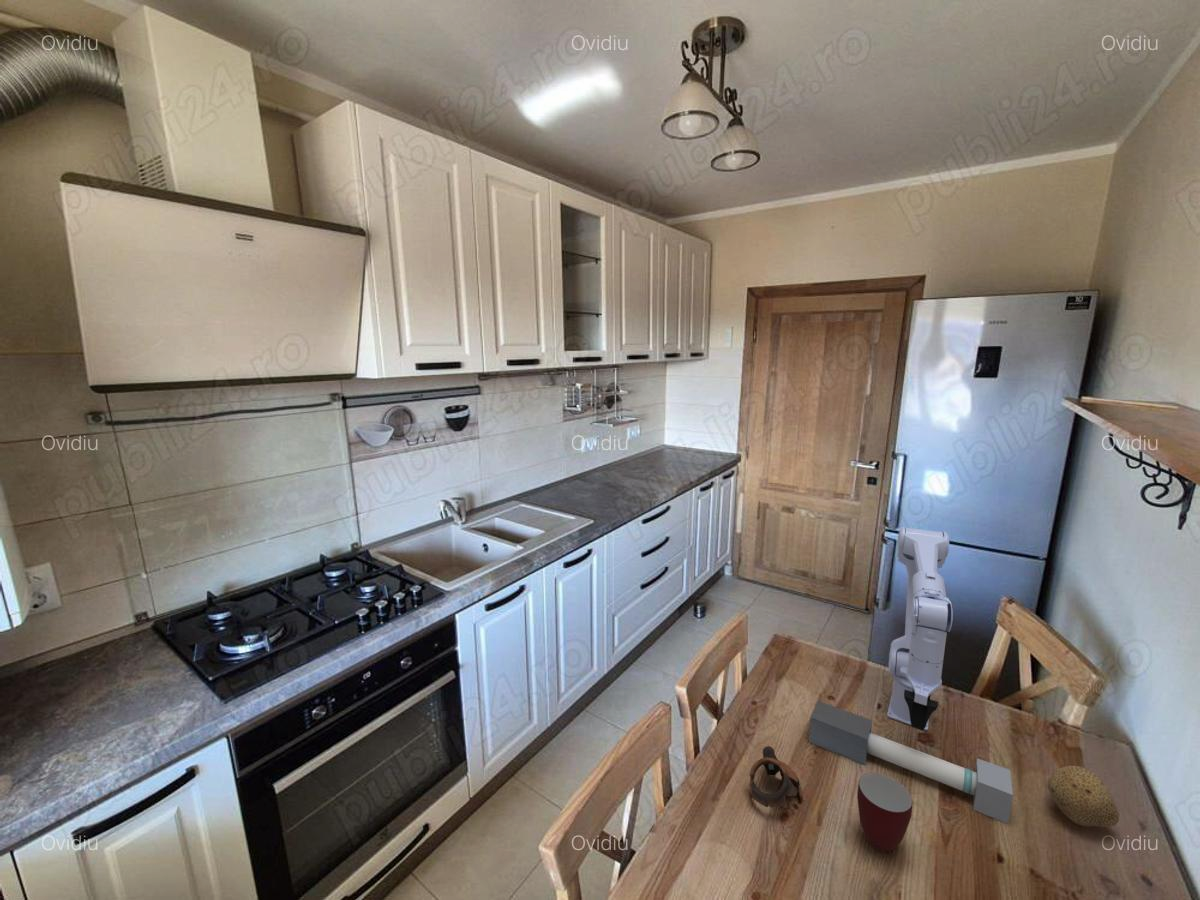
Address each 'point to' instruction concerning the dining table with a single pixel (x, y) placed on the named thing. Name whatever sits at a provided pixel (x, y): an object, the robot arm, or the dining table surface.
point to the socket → (993, 791)
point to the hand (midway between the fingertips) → (918, 716)
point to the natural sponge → (1083, 797)
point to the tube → (923, 763)
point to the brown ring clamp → (773, 768)
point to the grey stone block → (840, 732)
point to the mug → (883, 810)
